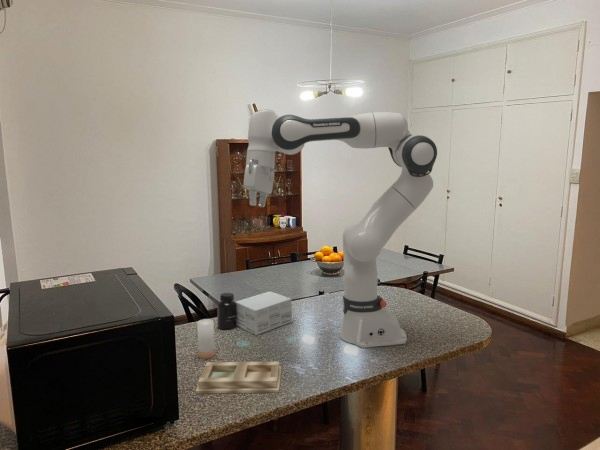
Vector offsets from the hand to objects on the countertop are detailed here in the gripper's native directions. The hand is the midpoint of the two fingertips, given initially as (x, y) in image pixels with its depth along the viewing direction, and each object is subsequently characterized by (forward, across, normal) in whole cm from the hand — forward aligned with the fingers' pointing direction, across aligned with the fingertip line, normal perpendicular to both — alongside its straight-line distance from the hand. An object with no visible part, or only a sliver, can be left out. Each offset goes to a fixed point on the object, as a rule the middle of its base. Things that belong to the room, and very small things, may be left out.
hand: (257, 206), depth 139 cm
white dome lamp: (+48, -2, +13) cm, 50 cm away
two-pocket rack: (+49, -15, -3) cm, 52 cm away
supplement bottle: (+44, +20, +15) cm, 51 cm away
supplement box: (+43, +25, +2) cm, 50 cm away
